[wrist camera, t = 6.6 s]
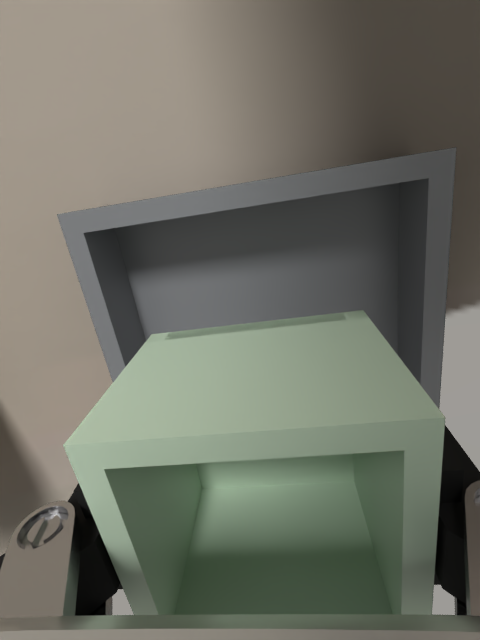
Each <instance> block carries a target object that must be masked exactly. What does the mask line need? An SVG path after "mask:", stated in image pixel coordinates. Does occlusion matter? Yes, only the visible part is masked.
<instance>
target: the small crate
mask: <svg viewBox="0 0 480 640" xmlns="http://www.w3.org/2000/svg"><path fill="white" fill-rule="evenodd" d="M444 429H445V416H444V415H443V414H442V413H441V411H440V410H439V409H438V407H437V406H436V405H435V403H434V402H433V401H432V399H431V398H430V397H429V396H428V394H427V393H426V392H425V390H424V389H423V388H422V386H421V385H420V384H419V382H418V381H417V380H416V379H415V377H414V376H413V375H412V373H411V372H410V371H409V369H408V368H407V367H406V365H405V364H404V363H403V361H402V360H401V359H400V358H399V356H398V355H397V354H396V352H395V351H394V350H393V348H392V347H391V346H390V344H389V343H388V342H387V341H386V339H385V338H384V337H383V335H382V334H381V333H380V331H379V330H378V329H377V327H376V326H375V325H374V323H373V322H372V321H371V320H370V318H369V317H368V316H367V314H366V313H365V312H364V310H359V311H350V312H341V313H333V314H324V315H315V316H307V317H298V318H289V319H280V320H272V321H263V322H254V323H246V324H237V325H228V326H219V327H211V328H202V329H193V330H185V331H176V332H167V333H158V334H151V336H150V337H149V338H148V339H147V341H146V342H145V343H144V344H143V346H142V347H141V348H140V349H139V351H138V352H137V353H136V354H135V356H134V357H133V358H132V359H131V361H130V362H129V363H128V365H127V366H126V367H125V368H124V370H123V371H122V372H121V373H120V375H119V376H118V377H117V378H116V380H115V381H114V382H113V383H112V385H111V386H110V387H109V388H108V390H107V391H106V392H105V393H104V395H103V396H102V397H101V398H100V400H99V401H98V402H97V404H96V405H95V406H94V407H93V409H92V410H91V411H90V412H89V414H88V415H87V416H86V417H85V419H84V420H83V421H82V422H81V424H80V425H79V426H78V427H77V429H76V430H75V431H74V432H73V434H72V435H71V436H70V438H69V439H68V440H67V441H66V443H65V444H64V445H63V446H64V449H65V451H66V454H67V456H68V458H69V461H70V463H71V466H72V468H73V470H74V473H75V475H76V477H77V480H78V482H79V485H80V487H81V489H82V492H83V494H84V497H85V499H86V501H87V504H88V506H89V508H90V511H91V513H92V516H93V518H94V520H95V523H96V525H97V528H98V530H99V532H100V535H101V537H102V540H103V542H104V544H105V547H106V549H107V551H108V554H109V556H110V559H111V561H112V563H113V566H114V568H115V571H116V573H117V575H118V578H119V580H120V582H121V585H122V587H123V590H124V592H125V594H126V597H127V599H128V601H129V604H130V606H131V608H132V611H133V614H134V615H232V614H394V615H432V603H433V588H434V574H435V560H436V545H437V531H438V516H439V501H440V487H441V472H442V458H443V443H444Z"/></svg>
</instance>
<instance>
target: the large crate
mask: <svg viewBox="0 0 480 640" xmlns="http://www.w3.org/2000/svg"><path fill="white" fill-rule="evenodd" d="M455 161H456V147H455V148H449V149H443V150H437V151H431V152H425V153H419V154H413V155H407V156H401V157H395V158H389V159H383V160H377V161H371V162H365V163H360V164H354V165H348V166H342V167H336V168H330V169H324V170H318V171H312V172H306V173H300V174H294V175H288V176H282V177H276V178H270V179H264V180H258V181H253V182H247V183H241V184H235V185H229V186H223V187H217V188H211V189H205V190H199V191H193V192H187V193H181V194H175V195H169V196H163V197H157V198H151V199H146V200H140V201H134V202H128V203H122V204H116V205H110V206H104V207H98V208H92V209H86V210H80V211H74V212H68V213H62V214H57V216H58V219H59V222H60V225H61V228H62V231H63V234H64V237H65V240H66V243H67V246H68V249H69V252H70V255H71V258H72V261H73V264H74V267H75V270H76V273H77V276H78V279H79V282H80V285H81V288H82V291H83V294H84V297H85V300H86V303H87V306H88V309H89V312H90V315H91V318H92V321H93V324H94V327H95V330H96V333H97V336H98V339H99V342H100V345H101V348H102V351H103V354H104V357H105V360H106V363H107V366H108V369H109V372H110V375H111V378H112V381H113V382H114V381H115V380H116V378H117V377H118V376H119V375H120V373H121V372H122V371H123V370H124V368H125V367H126V366H127V365H128V363H129V362H130V361H131V359H132V358H133V357H134V356H135V354H136V353H137V352H138V351H139V349H140V348H141V347H142V346H143V344H144V343H145V342H146V341H147V339H148V338H149V337H150V336H151V334H158V333H167V332H176V331H185V330H193V329H202V328H211V327H219V326H228V325H237V324H246V323H254V322H263V321H272V320H280V319H289V318H298V317H307V316H315V315H324V314H333V313H341V312H350V311H359V310H364V312H365V313H366V314H367V316H368V317H369V318H370V320H371V321H372V322H373V323H374V325H375V326H376V327H377V329H378V330H379V331H380V333H381V334H382V335H383V337H384V338H385V339H386V341H387V342H388V343H389V344H390V346H391V347H392V348H393V350H394V351H395V352H396V354H397V355H398V356H399V358H400V359H401V360H402V361H403V363H404V364H405V365H406V367H407V368H408V369H409V371H410V372H411V373H412V375H413V376H414V377H415V379H416V380H417V381H418V382H419V384H420V385H421V386H422V388H423V389H424V390H425V392H426V393H427V394H428V396H429V397H430V398H431V399H432V401H433V402H434V403H435V405H436V406H437V407H438V409H439V403H440V388H441V374H442V358H443V343H444V327H445V313H446V298H447V282H448V267H449V252H450V237H451V221H452V206H453V191H454V176H455Z"/></svg>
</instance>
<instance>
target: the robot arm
mask: <svg viewBox="0 0 480 640" xmlns="http://www.w3.org/2000/svg"><path fill="white" fill-rule="evenodd" d="M437 584H439V585H441V586H442V588H443V589H444V590H446V591H447V592H448V593H450V594H451V595H453V596H454V597H455V615H394V614H232V615H112V596H113V595H114V594H115V593H116V592H117V590H118V589H123V587H122V585H121V582H120V580H119V578H118V575H117V573H116V571H115V568H114V566H113V563H112V561H111V559H110V556H109V554H108V551H107V549H106V547H105V544H104V542H103V540H102V537H101V535H100V532H99V530H98V528H97V525H96V523H95V520H94V518H93V516H92V513H91V511H90V508H89V506H88V504H87V501H86V499H85V497H84V494H83V492H82V489H81V487H80V485H79V484H78V485H77V487H76V488H75V490H74V493H73V494H72V496H71V497H70V499H69V500H68V502H66V501H56V502H52V503H48V504H46V505H44V506H42V507H40V508H38V509H36V510H35V511H33V512H32V513H30V514H29V515H28V516H27V517H26V518H25V519H24V520H23V521H21V522H20V524H19V525H18V526H17V528H16V529H15V530H14V532H13V534H12V536H11V538H10V541H9V544H8V547H7V550H6V553H5V554H3V555H2V556H0V640H480V472H479V470H478V469H477V468H476V467H475V465H474V464H473V462H472V461H471V460H470V458H469V457H468V455H467V454H466V453H465V451H464V450H463V449H462V447H461V446H460V445H459V443H458V442H457V441H456V439H455V438H454V437H453V435H452V434H451V432H450V431H449V430H448V428H447V427H446V426H445V429H444V443H443V458H442V472H441V487H440V501H439V516H438V531H437V545H436V560H435V574H434V585H437Z"/></svg>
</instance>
